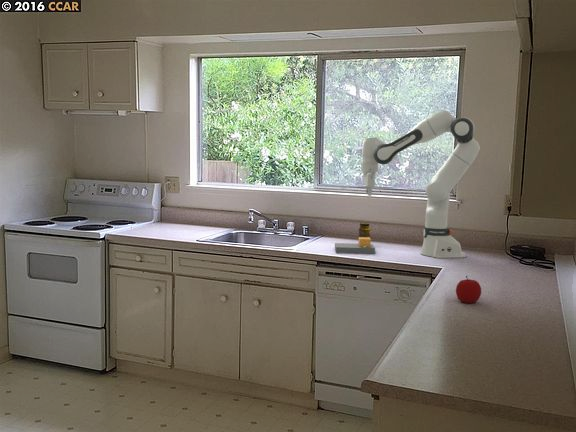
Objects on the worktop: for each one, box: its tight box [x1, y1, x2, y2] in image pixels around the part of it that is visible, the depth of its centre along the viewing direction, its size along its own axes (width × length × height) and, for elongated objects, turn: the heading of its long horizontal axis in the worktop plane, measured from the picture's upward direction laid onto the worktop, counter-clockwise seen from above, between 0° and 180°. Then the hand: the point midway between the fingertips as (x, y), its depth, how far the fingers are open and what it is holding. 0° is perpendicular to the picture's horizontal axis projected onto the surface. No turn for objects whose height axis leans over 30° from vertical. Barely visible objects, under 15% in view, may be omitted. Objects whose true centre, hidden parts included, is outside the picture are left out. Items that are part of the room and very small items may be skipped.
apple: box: [455, 275, 482, 304], centre depth 231 cm, size 9×9×10 cm
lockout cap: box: [358, 236, 372, 247], centre depth 322 cm, size 6×6×4 cm
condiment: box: [357, 222, 371, 244], centre depth 341 cm, size 7×8×12 cm
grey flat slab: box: [334, 242, 376, 255], centre depth 323 cm, size 20×12×4 cm, turn 88°
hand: (368, 194), depth 326 cm, fingers open, 8 cm apart
